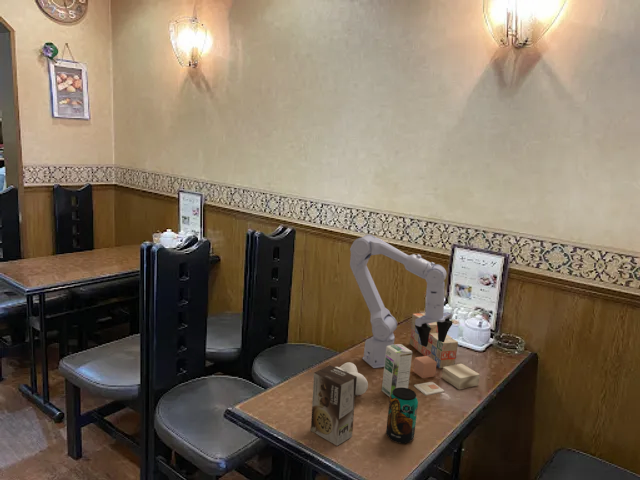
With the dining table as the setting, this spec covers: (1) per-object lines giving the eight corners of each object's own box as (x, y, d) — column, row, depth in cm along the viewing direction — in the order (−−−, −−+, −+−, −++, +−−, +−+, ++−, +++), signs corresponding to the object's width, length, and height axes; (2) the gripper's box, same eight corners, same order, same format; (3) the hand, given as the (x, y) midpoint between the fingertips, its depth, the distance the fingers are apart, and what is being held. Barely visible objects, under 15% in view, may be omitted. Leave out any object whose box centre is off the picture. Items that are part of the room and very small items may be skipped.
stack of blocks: (455, 367, 162) (459, 333, 160) (439, 368, 160) (443, 334, 158) (423, 342, 182) (427, 312, 180) (409, 343, 180) (412, 312, 178)
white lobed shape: (318, 387, 142) (320, 359, 140) (355, 384, 146) (357, 356, 144) (330, 407, 131) (333, 377, 130) (370, 403, 135) (373, 374, 134)
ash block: (458, 390, 147) (460, 378, 146) (441, 378, 154) (443, 367, 153) (478, 386, 150) (479, 374, 150) (460, 374, 157) (461, 363, 157)
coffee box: (353, 436, 119) (358, 376, 116) (336, 447, 114) (341, 385, 111) (325, 421, 125) (330, 363, 122) (309, 430, 120) (313, 371, 117)
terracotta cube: (422, 378, 152) (424, 364, 152) (413, 371, 157) (414, 357, 156) (435, 376, 155) (436, 362, 154) (425, 369, 159) (427, 355, 158)
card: (425, 395, 141) (425, 393, 141) (413, 386, 147) (414, 384, 147) (444, 391, 144) (444, 390, 144) (432, 382, 150) (432, 381, 150)
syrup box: (380, 390, 143) (385, 345, 140) (396, 387, 145) (401, 343, 143) (391, 400, 138) (396, 353, 135) (408, 396, 140) (413, 350, 138)
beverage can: (381, 437, 119) (385, 393, 117) (393, 425, 125) (397, 383, 122) (407, 448, 115) (412, 403, 113) (418, 435, 121) (423, 392, 119)
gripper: (427, 309, 145) (425, 352, 147) (460, 303, 152) (457, 343, 155) (411, 304, 151) (409, 344, 153) (443, 297, 158) (441, 336, 160)
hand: (432, 343), depth 154 cm, fingers open, 7 cm apart
